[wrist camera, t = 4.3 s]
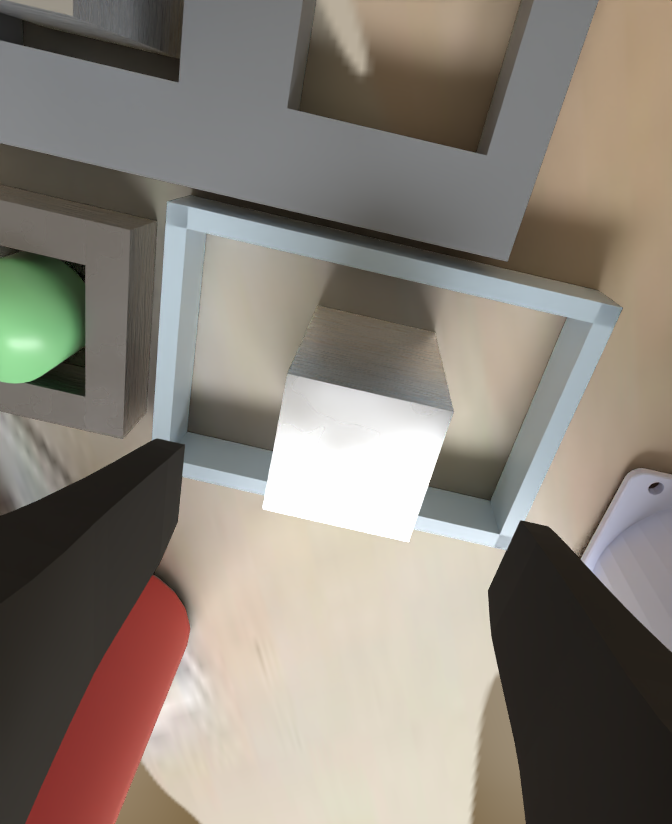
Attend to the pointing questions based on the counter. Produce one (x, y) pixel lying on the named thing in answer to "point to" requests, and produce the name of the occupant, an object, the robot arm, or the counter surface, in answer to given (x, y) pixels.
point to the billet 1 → (109, 20)
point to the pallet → (298, 123)
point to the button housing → (89, 311)
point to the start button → (38, 315)
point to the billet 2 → (359, 425)
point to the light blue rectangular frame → (582, 306)
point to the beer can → (116, 714)
